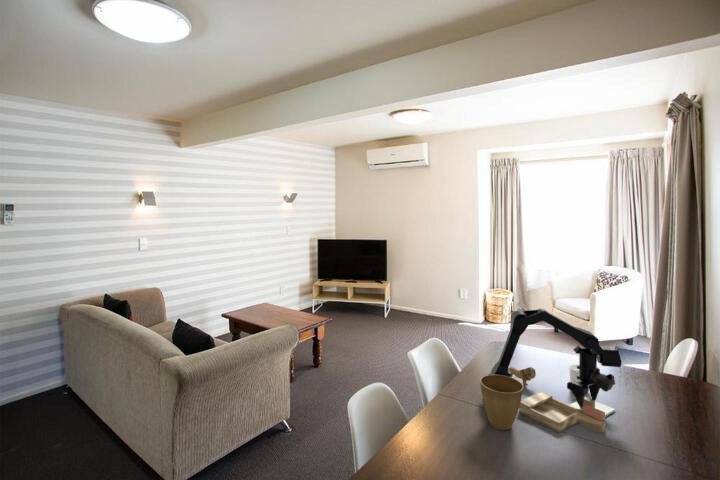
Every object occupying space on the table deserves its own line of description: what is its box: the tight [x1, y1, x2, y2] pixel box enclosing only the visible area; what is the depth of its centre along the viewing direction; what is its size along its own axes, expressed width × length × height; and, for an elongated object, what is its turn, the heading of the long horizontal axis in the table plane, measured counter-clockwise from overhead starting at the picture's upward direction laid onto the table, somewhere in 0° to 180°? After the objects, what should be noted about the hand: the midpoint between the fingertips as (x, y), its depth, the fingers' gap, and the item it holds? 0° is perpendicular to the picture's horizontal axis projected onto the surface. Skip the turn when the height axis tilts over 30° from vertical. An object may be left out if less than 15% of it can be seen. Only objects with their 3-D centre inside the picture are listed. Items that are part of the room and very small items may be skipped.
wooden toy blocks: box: [518, 391, 606, 434], centre depth 133 cm, size 15×24×4 cm, turn 30°
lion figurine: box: [508, 366, 537, 388], centre depth 164 cm, size 15×5×9 cm, turn 48°
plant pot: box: [479, 374, 524, 431], centre depth 132 cm, size 15×15×16 cm
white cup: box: [569, 364, 590, 393], centre depth 156 cm, size 8×8×10 cm
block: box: [584, 405, 606, 421], centre depth 128 cm, size 2×6×2 cm, turn 30°
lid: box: [569, 396, 616, 418], centre depth 140 cm, size 15×11×6 cm
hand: (587, 403), depth 139 cm, fingers open, 9 cm apart
